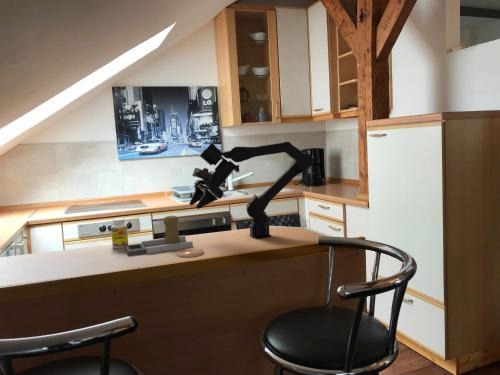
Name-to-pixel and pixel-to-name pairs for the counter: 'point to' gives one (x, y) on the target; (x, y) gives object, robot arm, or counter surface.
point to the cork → (171, 230)
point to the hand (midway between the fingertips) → (193, 206)
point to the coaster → (190, 252)
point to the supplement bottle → (119, 233)
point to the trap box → (135, 249)
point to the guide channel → (165, 247)
